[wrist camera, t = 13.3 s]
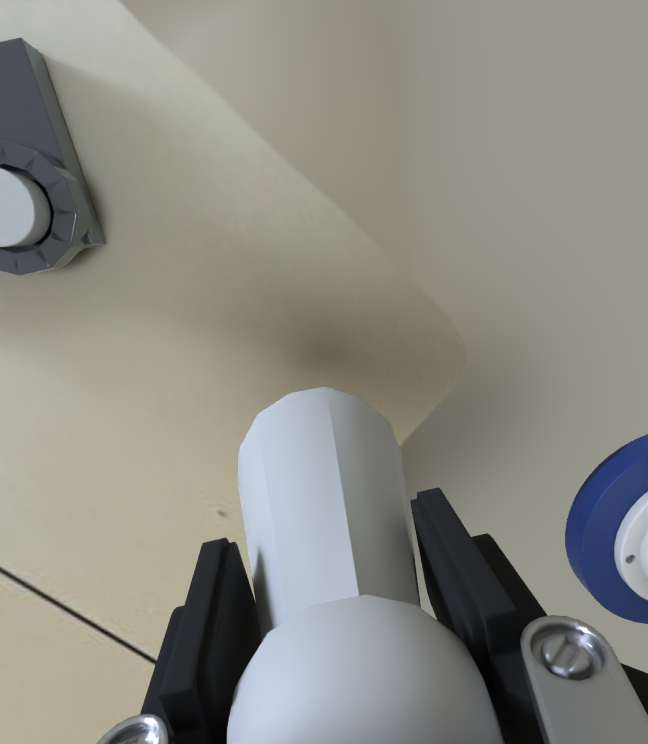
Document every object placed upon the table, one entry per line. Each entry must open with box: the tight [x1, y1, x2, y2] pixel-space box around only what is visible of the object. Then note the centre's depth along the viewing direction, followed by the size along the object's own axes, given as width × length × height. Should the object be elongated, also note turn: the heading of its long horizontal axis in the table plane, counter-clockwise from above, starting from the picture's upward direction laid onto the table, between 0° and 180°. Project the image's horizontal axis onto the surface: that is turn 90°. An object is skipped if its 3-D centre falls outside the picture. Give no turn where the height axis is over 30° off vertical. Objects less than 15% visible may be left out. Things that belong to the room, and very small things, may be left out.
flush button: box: [0, 168, 51, 247], centre depth 25 cm, size 4×4×2 cm
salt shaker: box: [227, 387, 505, 744], centre depth 12 cm, size 6×6×13 cm
